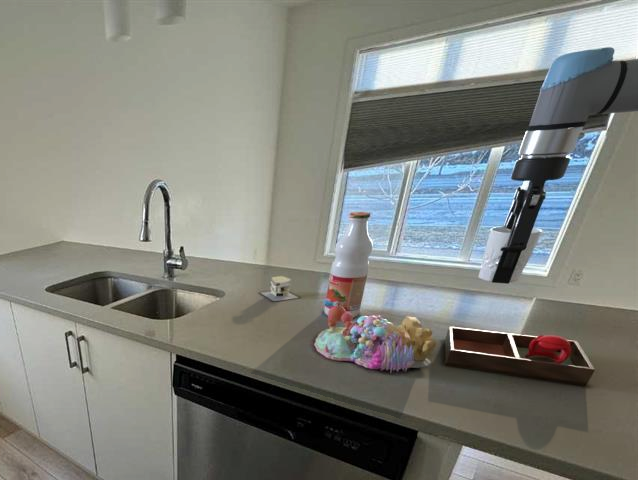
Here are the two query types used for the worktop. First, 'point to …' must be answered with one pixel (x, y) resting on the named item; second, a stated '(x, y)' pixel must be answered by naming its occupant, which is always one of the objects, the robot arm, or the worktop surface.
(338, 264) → the fruit juice
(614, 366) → the worktop surface
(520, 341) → the sorting tray
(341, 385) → the worktop surface
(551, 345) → the red curved piece
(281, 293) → the stacked layers on plate
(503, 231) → the white cup
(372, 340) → the candy landscape model
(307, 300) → the worktop surface
